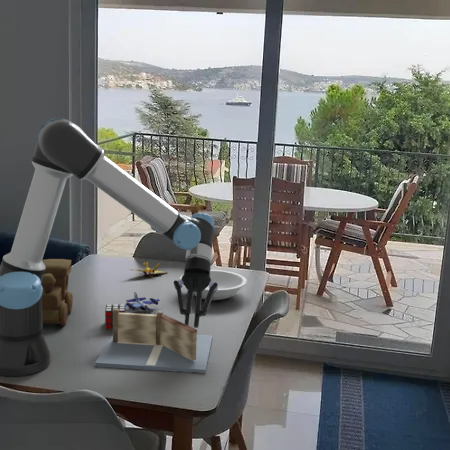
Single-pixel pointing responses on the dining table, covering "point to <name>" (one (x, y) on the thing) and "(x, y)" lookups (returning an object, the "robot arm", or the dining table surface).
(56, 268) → the wooden toy train
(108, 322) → the puzzle toy
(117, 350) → the board
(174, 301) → the dining table surface
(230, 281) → the soup bowl
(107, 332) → the dining table surface
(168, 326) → the fence panel
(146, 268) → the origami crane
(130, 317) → the fence fixed section
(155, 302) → the toy airplane
